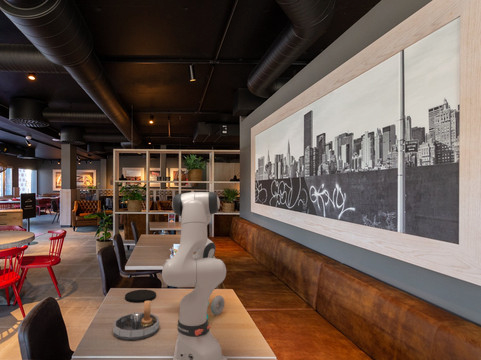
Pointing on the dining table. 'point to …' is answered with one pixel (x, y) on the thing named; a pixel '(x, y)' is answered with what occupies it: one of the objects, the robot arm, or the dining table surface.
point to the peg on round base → (147, 313)
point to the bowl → (134, 327)
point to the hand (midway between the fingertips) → (169, 267)
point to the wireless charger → (140, 296)
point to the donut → (220, 302)
